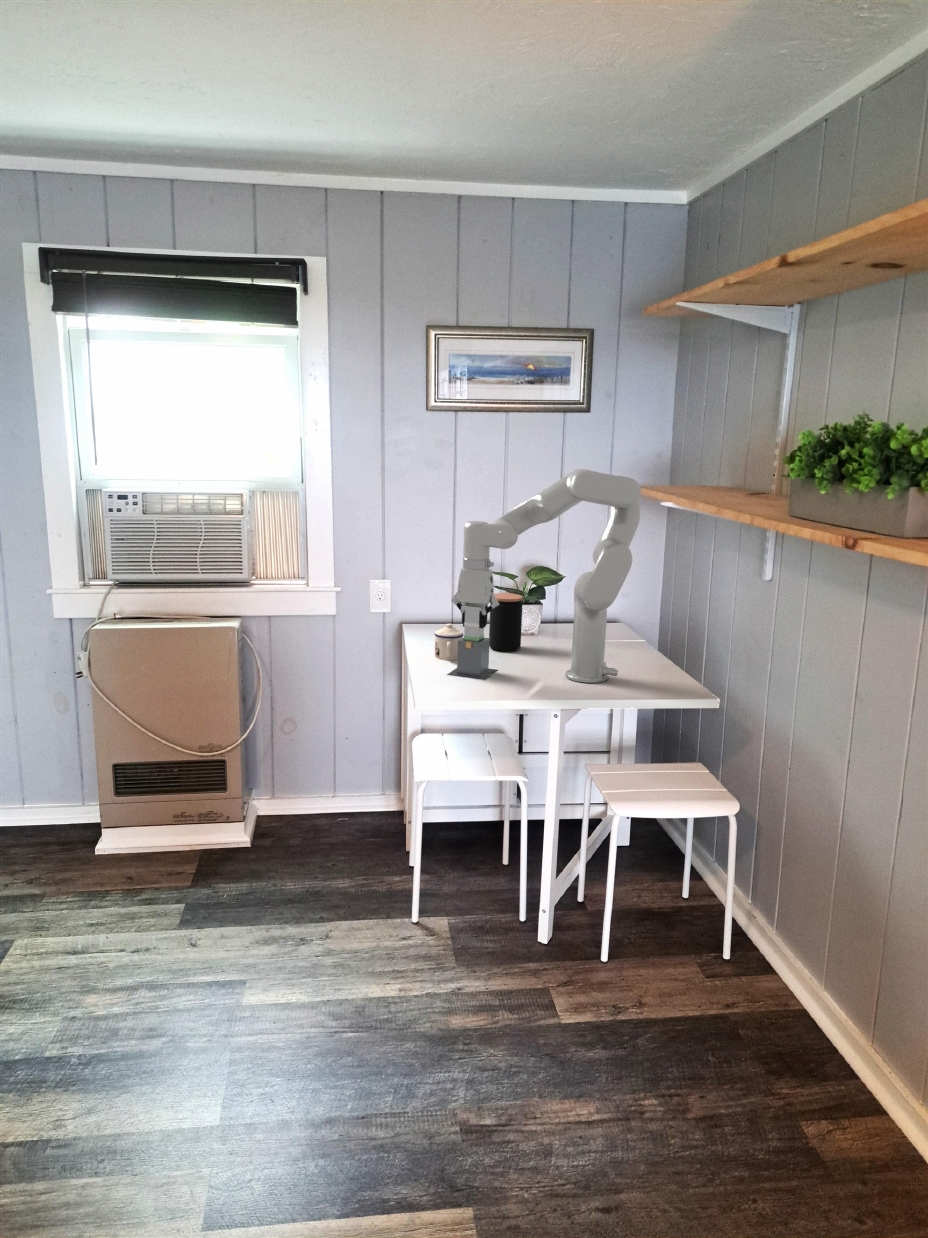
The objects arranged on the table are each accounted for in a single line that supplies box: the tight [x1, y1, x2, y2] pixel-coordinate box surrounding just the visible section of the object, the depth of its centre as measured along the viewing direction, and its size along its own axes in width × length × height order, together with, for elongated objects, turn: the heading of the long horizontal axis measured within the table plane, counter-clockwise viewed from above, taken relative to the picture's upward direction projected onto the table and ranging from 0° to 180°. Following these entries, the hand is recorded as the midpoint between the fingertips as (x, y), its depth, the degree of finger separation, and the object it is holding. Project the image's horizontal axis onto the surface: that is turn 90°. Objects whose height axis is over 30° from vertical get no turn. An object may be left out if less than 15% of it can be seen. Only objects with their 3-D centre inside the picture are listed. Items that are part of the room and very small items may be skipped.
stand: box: [446, 636, 499, 681], centre depth 247 cm, size 12×12×11 cm
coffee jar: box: [488, 592, 524, 653], centre depth 280 cm, size 11×11×18 cm
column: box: [462, 604, 486, 642], centre depth 245 cm, size 6×6×17 cm
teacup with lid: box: [434, 623, 464, 661], centre depth 262 cm, size 12×9×12 cm
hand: (474, 626), depth 245 cm, fingers closed on column, 4 cm apart
